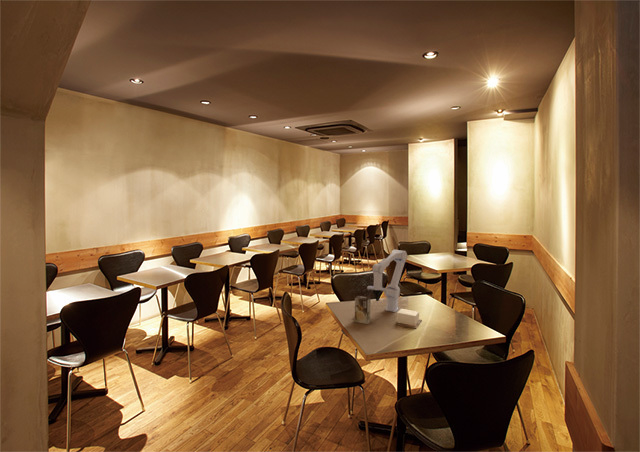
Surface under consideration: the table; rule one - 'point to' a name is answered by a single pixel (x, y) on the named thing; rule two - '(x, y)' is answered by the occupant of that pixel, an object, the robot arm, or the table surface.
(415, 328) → the board
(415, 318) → the carton
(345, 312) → the table surface
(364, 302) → the coffee box
